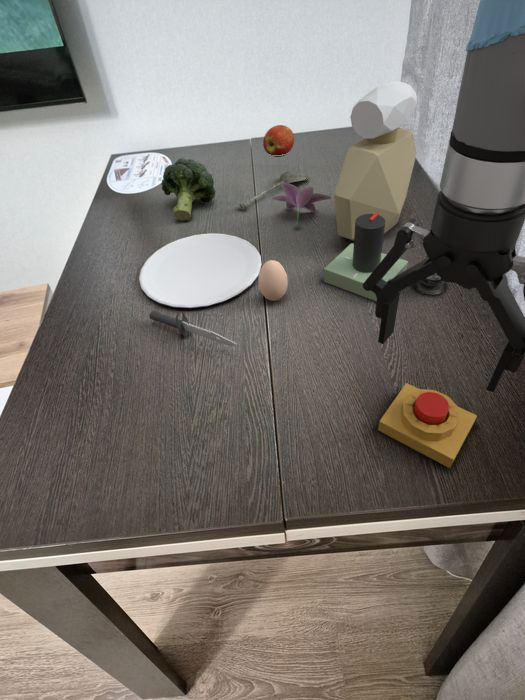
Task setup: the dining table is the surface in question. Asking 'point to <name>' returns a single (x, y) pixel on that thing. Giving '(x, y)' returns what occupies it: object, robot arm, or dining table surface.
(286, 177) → the soupspoon
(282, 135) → the apple
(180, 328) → the knife
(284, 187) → the lily
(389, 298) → the robot arm
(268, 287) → the egg
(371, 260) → the dial
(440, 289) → the chess piece
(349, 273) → the dial panel
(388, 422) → the button box
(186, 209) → the vegetable
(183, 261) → the plate
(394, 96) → the tan faceted bottle
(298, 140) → the dining table surface
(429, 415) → the button
